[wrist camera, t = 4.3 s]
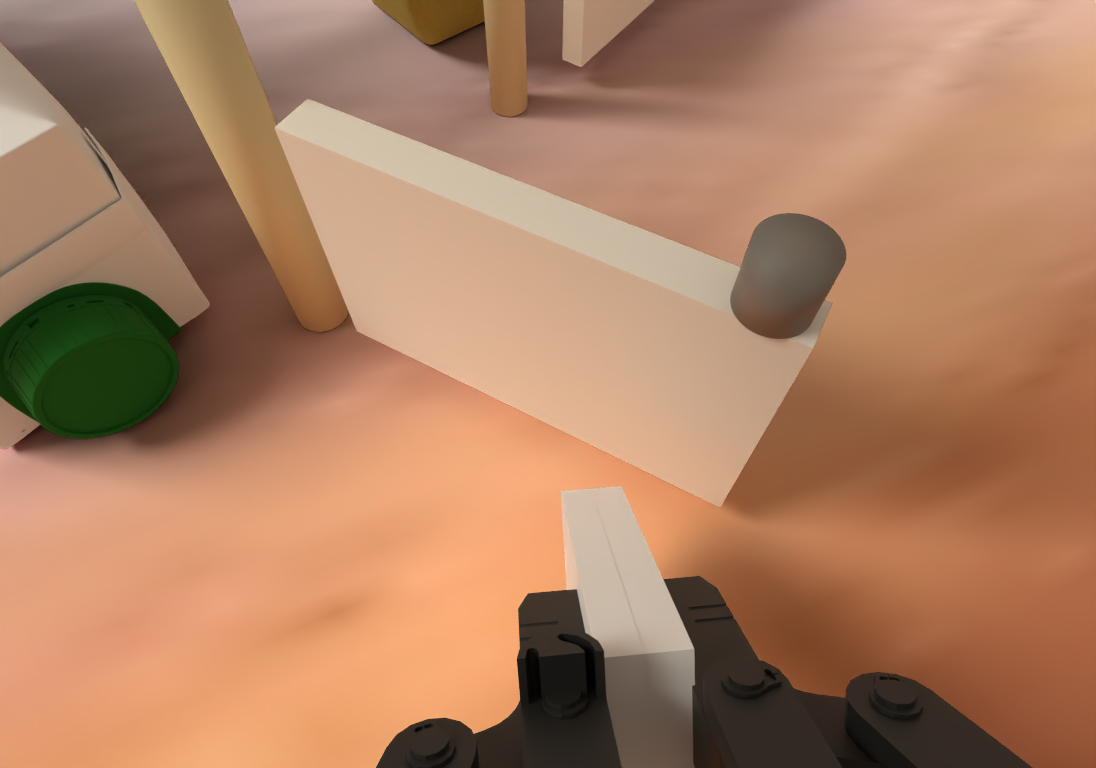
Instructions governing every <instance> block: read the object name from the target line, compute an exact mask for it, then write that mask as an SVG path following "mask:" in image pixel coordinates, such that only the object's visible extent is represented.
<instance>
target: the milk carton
mask: <svg viewBox="0 0 1096 768" xmlns="http://www.w3.org/2000/svg"><path fill="white" fill-rule="evenodd" d="M84 130H85V131H86V132H87V133H88V135H89V136H90V137H91V139H92V140H93V142H94V143H95V145H96V146H97V147H98V149H99V151H100V152H99V151H98V150H97V148H96V147H95V146H94V144H93V143H92V142H91V140H90V139H89V138H88V137H87V135H86V134H85V133H84V131H83V130H82V129H81V128H80V127H79V125H78V124H77V123H76V122H75V120H74V119H73V118H72V117H71V116H70V114H69V113H68V112H67V111H66V110H65V109H64V108H63V106H62V105H61V104H60V103H59V102H58V101H57V100H56V99H55V98H54V97H53V96H52V95H51V94H50V93H49V92H48V91H47V90H46V89H45V88H44V87H43V86H42V85H41V84H40V82H39V81H38V80H37V79H36V78H35V77H34V76H33V75H32V74H31V73H30V72H29V71H28V70H27V69H26V68H25V67H24V66H23V65H22V64H21V63H20V62H19V61H18V60H17V59H16V58H15V57H14V56H13V55H12V54H11V53H10V52H9V51H8V50H7V49H6V48H5V47H4V45H3V44H2V43H1V42H0V449H3V450H4V449H8V448H10V447H11V446H13V445H14V444H16V443H17V442H18V441H20V440H21V439H23V438H24V437H25V436H26V435H28V434H29V433H30V432H32V431H33V430H34V429H35V428H37V427H38V426H39V425H41V426H43V427H44V428H45V429H46V430H47V431H50V432H52V433H54V434H56V435H59V436H62V437H66V438H74V439H90V438H98V437H103V436H108V435H111V434H115V433H118V432H120V431H123V430H125V429H128V428H130V427H132V426H134V425H136V424H137V423H139V422H141V421H142V420H144V419H145V418H147V417H148V416H150V415H151V414H152V413H153V412H155V411H156V410H157V409H158V408H159V407H160V406H161V405H162V404H163V403H164V402H165V401H166V399H167V398H168V397H169V395H170V394H171V392H172V391H173V389H174V387H175V385H176V382H177V379H178V375H179V361H178V356H177V354H176V353H175V351H174V349H173V348H172V347H171V346H170V343H169V342H168V341H167V340H169V339H170V338H172V337H173V336H175V335H176V334H177V333H179V332H180V331H182V329H181V328H180V327H181V326H182V325H184V324H185V323H187V322H189V321H190V320H192V319H193V318H195V317H196V316H198V315H199V314H201V313H202V312H203V311H205V310H206V309H207V308H208V307H209V306H210V303H209V301H208V300H207V298H206V297H205V295H204V294H203V292H202V291H201V289H200V288H199V286H198V285H197V283H196V282H195V280H194V278H193V277H192V275H191V273H190V272H189V270H188V268H187V267H186V265H185V263H184V262H183V260H182V259H181V257H180V255H179V254H178V252H177V251H176V249H175V248H174V246H173V244H172V243H171V241H170V240H169V238H168V237H167V235H166V233H165V232H164V230H163V229H162V228H161V226H160V225H159V223H158V222H157V221H156V219H155V218H154V216H153V215H152V214H151V212H150V211H149V209H148V208H147V207H146V205H145V204H144V202H143V201H142V200H141V198H140V197H139V196H138V194H137V193H136V192H135V190H134V189H133V187H132V186H131V185H130V183H129V182H128V181H127V179H126V178H125V177H124V176H123V174H122V173H121V172H120V170H119V169H118V168H117V166H116V165H115V163H114V162H113V160H112V159H111V158H110V157H109V155H108V154H107V153H106V151H105V150H104V149H103V148H102V146H101V145H100V144H99V143H98V141H97V140H96V139H95V138H94V137H93V135H92V134H91V133H90V132H89V130H88V129H87V128H86V127H85V128H84ZM100 153H101V154H102V155H101V154H100Z"/></svg>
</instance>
